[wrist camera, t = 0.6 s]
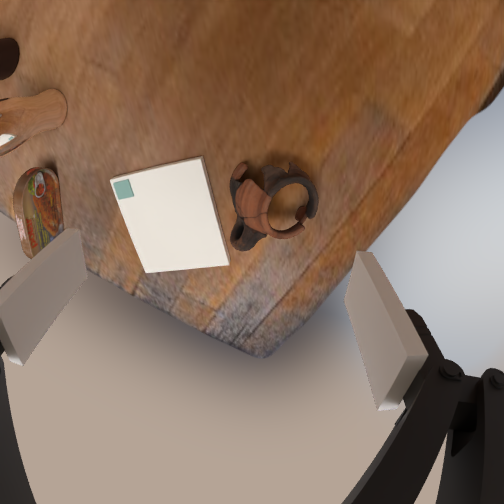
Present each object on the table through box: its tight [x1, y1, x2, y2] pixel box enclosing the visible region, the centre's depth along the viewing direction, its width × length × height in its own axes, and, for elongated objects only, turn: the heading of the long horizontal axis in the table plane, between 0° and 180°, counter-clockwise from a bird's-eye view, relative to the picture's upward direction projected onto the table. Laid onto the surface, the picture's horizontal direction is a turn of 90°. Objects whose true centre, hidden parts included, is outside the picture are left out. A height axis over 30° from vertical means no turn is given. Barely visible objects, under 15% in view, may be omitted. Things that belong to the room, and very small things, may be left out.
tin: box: [13, 167, 64, 259], centre depth 40 cm, size 15×3×8 cm, turn 170°
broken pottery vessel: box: [230, 161, 318, 251], centre depth 37 cm, size 12×10×8 cm
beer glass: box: [0, 89, 67, 158], centre depth 28 cm, size 7×7×15 cm
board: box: [110, 156, 230, 273], centre depth 42 cm, size 13×15×2 cm
